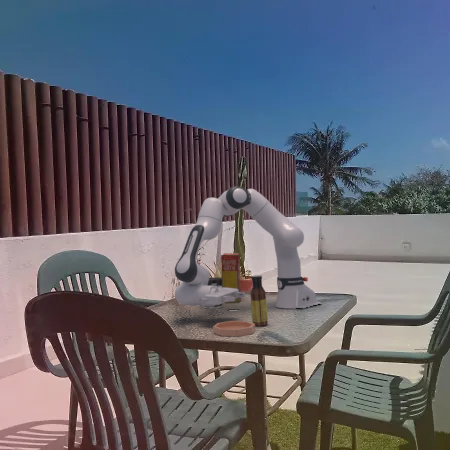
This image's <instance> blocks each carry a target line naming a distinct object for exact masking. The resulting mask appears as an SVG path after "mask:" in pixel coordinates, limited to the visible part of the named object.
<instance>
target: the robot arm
mask: <svg viewBox="0 0 450 450" xmlns="http://www.w3.org/2000/svg"><path fill="white" fill-rule="evenodd" d="M240 210H243V211H245V212H246V213H247V214H248V215H249V216H250V217H251V218H252V219H253V220H254V221H255V222H256V223H257V224H258V225H259V226H260V227H261V228H262V229H263V230H265V231H266V232H267V233H268V234H270V235H271V236H272V240H273V244H274V245H273V246H274V250H275V252H274V253H275V255H276V263H277V277H276V283H277V284H276V285H277V298H276V304H275V307H276V308H279V309H296V308H303V309H307V308H306V307H308V308H311V307H310V306H313V305H317V304H320V303H321V304H322V302H321V301H318V299H317V294H316V292H315V291H314V290H313V289H311V288H310V287H309V286H308V285H306V284H305V282H306V283H307V282H308V280H309V278H308V277H305V276H302V269H301V268H302V267H301V259H300V257H299V253H298V248H299V247H300V246H302V245H303V243H304V240H305V235H304V232H303V231H302V229H300V228H299V227H298V226H297V225H296V224H294V223H293V222H292V221H291V220H290V219H289V218H288V217H286V216H285V215H284V214H282V213H281V212H280V211H279V209H277V208H276V207H275V206H274V205H273V204H272V203H271V202H270V201H269V200H268V199H267V198H266V197H265V196H264V195H263V194H261V193H260V192H258V190H256V189H254V188H248V189H246V188H245V187H243V186H239V185H236V186H235V185H234V186H231V187H230V188H228V189H227V190H225V191H224V192H223V193H222V194H221V195H220V196H219V197H218V198H217V197H207V198H206V199H205V200H204V201H203V203H202V205H201V208H200V210H199V213H198V217H197V219H196V222H195V223H196V224H195V225H194V226H193V227H192V228H191V230H190V232H189V235H188V237H187V240H186V242H185V245H184V247H183V251H182V252H181V253H182V254H181V256H179V257H180V258H179V259H178V261H177V262H176V264H175V266H174V274H175V277H176V278H177V279H178V281H181V283H180V284H179V285H178V286H177V287H176V288H175V289H174V297H175V299H176V301H177V302H178V303H179V304H180V305H185V306H190V307H191V306H192V307H195V306H201V307H202V306H208V307H214V306H215V305H219V304H222V303H223V304H226V303H225V302H229V301H235V298H238V297H240V298H241V299H242V298H246V294H245V292H241V293H240V292H239V290H238V289H235V288H224V287H223V288H222V286H207V285H208V282H209V278H211V277H210V275H211V274H210V272H209V270H208V269H207V268H206V267H204V266H202V265H201V264H200V263H198V262H197V256H198V253H199V250H200V247H201V245H202V243H203V242H204V241H209V240H213V239H215V238H217V237H218V236H219V233H220V232H221V228H222V223H223V218H225V217H226V218H227V217H232V216H233V215H235V214H237V213H238V212H240ZM317 306H318V305H317ZM313 307H314V306H313Z"/></svg>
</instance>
